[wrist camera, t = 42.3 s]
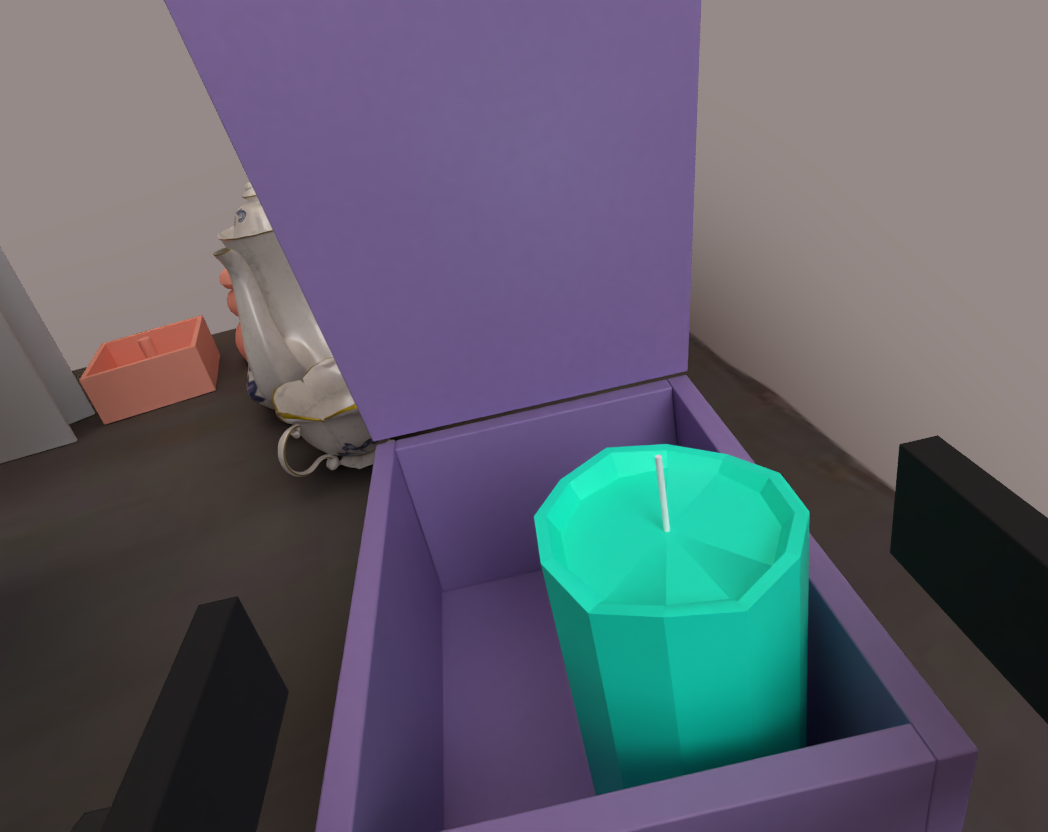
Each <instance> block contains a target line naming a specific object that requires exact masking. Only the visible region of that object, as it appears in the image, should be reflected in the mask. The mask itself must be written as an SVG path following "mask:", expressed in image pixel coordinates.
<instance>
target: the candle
mask: <svg viewBox="0 0 1048 832" xmlns="http://www.w3.org/2000/svg"><path fill="white" fill-rule="evenodd" d="M809 518H810V512H809V510H808V509H807V508H806V507H805V505H804V504H803V503H802V501H801V500H800V499H799V497H798V496H797V495H796V493H795V492H794V491H793V489H792V488H791V487H790V486H789V484H788V483H787V482H786V480H785V479H784V478H783V476H782V475H781V474H780V473H778V472H775V471H773V470H770V469H767V468H764V467H762V466H759V465H756V464H753V463H750V462H748V461H745V460H742V459H739V458H737V457H734V456H731V455H728V454H723V453H717V452H711V451H705V450H699V449H693V448H687V447H681V446H675V445H669V444H658V445H641V446H624V447H607V448H605V449H604V450H602V451H601V452H599V453H598V454H596V455H595V456H594V457H592V458H591V459H589V460H588V461H586V462H585V463H584V464H582V465H581V466H579V467H578V468H576V469H575V470H573V471H572V472H571V473H569V474H568V475H566V476H565V477H563V478H562V479H560V481H559V482H558V483H557V485H556V486H555V488H554V489H553V490H552V492H551V493H550V495H549V496H548V497H547V499H546V500H545V502H544V503H543V504H542V506H541V507H540V509H539V510H538V511H537V513H536V514H535V515H534V520H535V527H536V534H537V541H538V548H539V555H540V562H541V567H542V571H543V575H544V579H545V583H546V588H547V592H548V596H549V600H550V604H551V609H552V613H553V617H554V621H555V625H556V630H557V634H558V638H559V642H560V647H561V651H562V655H563V659H564V663H565V668H566V672H567V676H568V680H569V684H570V689H571V693H572V697H573V701H574V706H575V710H576V714H577V718H578V722H579V727H580V731H581V735H582V739H583V743H584V748H585V752H586V756H587V760H588V765H589V769H590V773H591V777H592V781H593V786H594V790H595V794H596V795H601V794H605V793H609V792H614V791H618V790H622V789H627V788H631V787H635V786H640V785H644V784H648V783H653V782H657V781H661V780H666V779H670V778H674V777H679V776H683V775H688V774H692V773H696V772H701V771H705V770H709V769H714V768H718V767H722V766H727V765H731V764H735V763H740V762H744V761H748V760H753V759H757V758H761V757H766V756H770V755H774V754H779V753H783V752H788V751H792V750H796V749H801V748H805V747H806V739H807V665H808V591H809Z"/></svg>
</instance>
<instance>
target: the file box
mask: <svg viewBox="0 0 1048 832" xmlns="http://www.w3.org/2000/svg"><path fill="white" fill-rule="evenodd" d="M658 444H669V445H675V446H681V447H687V448H693V449H699V450H705V451H711V452H717V453H723V454H728V455H731V456H734V457H737V458H739V459H742V460H745V461H748V462H750V463H753V464H755V463H754V461H753V460H752V459H751V458H750V456H749V455H748V454H747V452H746V451H745V450H744V449H743V447H742V446H741V445H740V443H739V442H738V441H737V440H736V438H735V437H734V436H733V434H732V433H731V432H730V431H729V429H728V428H727V427H726V426H725V424H724V423H723V422H722V420H721V419H720V418H719V417H718V415H717V414H716V413H715V411H714V410H713V409H712V408H711V406H710V405H709V404H708V402H707V401H706V400H705V399H704V397H703V396H702V395H701V394H700V392H699V391H698V390H697V388H696V387H695V386H694V385H693V383H692V382H691V381H690V379H689V378H688V377H687V376H686V375H683V376H679V377H674V378H670V379H667V380H662V381H658V382H653V383H649V384H644V385H640V386H635V387H631V388H627V389H622V390H618V391H613V392H609V393H604V394H600V395H596V396H591V397H587V398H582V399H578V400H573V401H569V402H565V403H560V404H556V405H551V406H547V407H542V408H538V409H533V410H529V411H525V412H520V413H516V414H511V415H507V416H502V417H498V418H494V419H489V420H485V421H480V422H476V423H471V424H467V425H463V426H458V427H454V428H449V429H445V430H440V431H436V432H432V433H427V434H423V435H418V436H414V437H409V438H405V439H401V440H397V441H396V442H395V441H392V442H387V443H383V444H378V445H377V446H376V451H375V457H374V464H373V470H372V476H371V482H370V489H369V495H368V501H367V508H366V514H365V520H364V526H363V533H362V539H361V545H360V552H359V558H358V564H357V570H356V577H355V583H354V589H353V596H352V602H351V608H350V614H349V621H348V627H347V633H346V640H345V646H344V652H343V658H342V665H341V671H340V677H339V684H338V690H337V696H336V702H335V709H334V715H333V721H332V728H331V734H330V740H329V746H328V753H327V759H326V765H325V772H324V778H323V784H322V790H321V797H320V803H319V809H318V816H317V822H316V828H315V832H962V828H963V823H964V818H965V813H966V809H967V804H968V799H969V794H970V789H971V785H972V780H973V775H974V770H975V766H976V761H977V756H978V748H977V747H976V746H975V744H974V743H973V742H972V740H971V739H970V738H969V737H968V735H967V734H966V733H965V732H964V730H963V729H962V728H961V726H960V725H959V724H958V723H957V721H956V720H955V719H954V717H953V716H952V715H951V714H950V712H949V711H948V710H947V708H946V707H945V706H944V705H943V703H942V702H941V701H940V699H939V698H938V697H937V696H936V694H935V693H934V692H933V691H932V689H931V688H930V687H929V685H928V684H927V683H926V682H925V680H924V679H923V678H922V676H921V675H920V674H919V673H918V671H917V670H916V669H915V667H914V666H913V665H912V664H911V662H910V661H909V660H908V659H907V657H906V656H905V655H904V653H903V652H902V651H901V650H900V648H899V647H898V646H897V644H896V643H895V642H894V641H893V639H892V638H891V637H890V635H889V634H888V633H887V632H886V630H885V629H884V628H883V627H882V625H881V624H880V623H879V621H878V620H877V619H876V618H875V616H874V615H873V614H872V612H871V611H870V610H869V609H868V607H867V606H866V605H865V603H864V602H863V601H862V600H861V598H860V597H859V596H858V595H857V593H856V592H855V591H854V589H853V588H852V587H851V586H850V584H849V583H848V582H847V580H846V579H845V578H844V577H843V575H842V574H841V573H840V571H839V570H838V569H837V568H836V566H835V565H834V564H833V563H832V561H831V560H830V559H829V557H828V556H827V555H826V554H825V552H824V551H823V550H822V548H821V547H820V546H819V545H818V543H817V542H816V541H815V539H814V538H813V537H812V536H811V534H810V533H809V591H808V665H807V739H806V747H805V748H801V749H796V750H792V751H788V752H783V753H779V754H774V755H770V756H766V757H761V758H757V759H753V760H748V761H744V762H740V763H735V764H731V765H727V766H722V767H718V768H714V769H709V770H705V771H701V772H696V773H692V774H688V775H683V776H679V777H674V778H670V779H666V780H661V781H657V782H653V783H648V784H644V785H640V786H635V787H631V788H627V789H622V790H618V791H614V792H609V793H605V794H601V795H596V794H595V790H594V786H593V781H592V777H591V773H590V769H589V765H588V760H587V756H586V752H585V748H584V743H583V739H582V735H581V731H580V727H579V722H578V718H577V714H576V710H575V706H574V701H573V697H572V693H571V689H570V684H569V680H568V676H567V672H566V668H565V663H564V659H563V655H562V651H561V647H560V642H559V638H558V634H557V630H556V625H555V621H554V617H553V613H552V609H551V604H550V600H549V596H548V592H547V588H546V583H545V579H544V575H543V571H542V567H541V562H540V555H539V548H538V541H537V534H536V527H535V520H534V515H535V514H536V513H537V511H538V510H539V509H540V507H541V506H542V504H543V503H544V502H545V500H546V499H547V497H548V496H549V495H550V493H551V492H552V490H553V489H554V488H555V486H556V485H557V483H558V482H559V481H560V479H562V478H563V477H565V476H566V475H568V474H569V473H571V472H572V471H573V470H575V469H576V468H578V467H579V466H581V465H582V464H584V463H585V462H586V461H588V460H589V459H591V458H592V457H594V456H595V455H596V454H598V453H599V452H601V451H602V450H604V449H605V448H607V447H624V446H641V445H658Z"/></svg>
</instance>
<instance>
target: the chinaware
mask: <svg viewBox="0 0 1048 832" xmlns="http://www.w3.org/2000/svg"><path fill="white" fill-rule="evenodd" d="M245 189H246V191H245V192H244V194H243V196H242V197H243V198H244V199H246V200H247V201H248V203H246V204H244V205H243V206H241V207H240V208H239V209H238V210H237V212H236V215H235V221H234V226H233V227H231V228H230V229H228V230H225V231H222V232H220V234H219V235H217V236H216V237H217V238H218V239H220V240H221V241H222V242H223V244H224V245H225V247H226V248H223V249H220V250H217V251H216V252H214V256H215V257H216V258H217V259H218V260H219V261H220V262H221V263H222V264H223V265H224V266H225V268H226V270H227V271H228V273H229V276H230V278H231V282H232V285H233V290H234V294H235V299H236V304H237V309H238V314H239V319H240V325H241V331H242V337H243V344H244V349H245V353H246V357H247V360H248V374H247V393H248V395H249V396H250V398H251V399H252V400H253V401H255V402H257V403H259V404H261V405H263V406H265V407H268V408H270V409H273V410H275V414H276V417H277V418H278V419H279V420H280V421H282V422H284V423H287V424H292V425H293V426H291V427H290V428H288V429H287V430H286V431H285V432H284V433H283V435H282V436H281V438H280V440H279V443H278V458H279V461H280V464H281V466H282V467H283V469H284V470H285V471H286V472H287V473H289V474H291V475H293V476H296V477H305V476H308V475H310V474H311V473H312V472H314V470H315V469H316V468H317V466H318V465H319V463H320V462H321V461H322V460H324V459H328V460H327V462H326V466H327V468H330V470H335V469H337V468H338V466H339V465H344V466H347V467H351V468H358V469H361V468H363V467H366V466H369V465H372V464H374V457H375V451H376V446H377V445H378V444H383V443H387V442H392V441H394V440H389V439H390V438H387V439H383V440H378V441H373V440H372V438H371V436H370V434H369V431H368V429H367V427H366V425H365V423H364V421H363V419H362V417H361V415H360V412H359V410H358V408H357V406H356V404H355V402H354V400H353V398H352V396H351V394H350V391H349V389H348V387H347V385H346V383H345V381H344V379H343V377H342V375H341V372H340V370H339V368H338V366H337V364H336V362H335V360H334V358H333V356H332V353H331V351H330V349H329V347H328V345H327V343H326V341H325V339H324V337H323V334H322V332H321V330H320V328H319V326H318V324H317V322H316V320H315V318H314V316H313V313H312V311H311V309H310V307H309V305H308V303H307V301H306V299H305V297H304V294H303V292H302V290H301V288H300V286H299V284H298V282H297V280H296V278H295V275H294V273H293V271H292V269H291V267H290V265H289V263H288V261H287V259H286V256H285V254H284V252H283V250H282V248H281V246H280V244H279V242H278V240H277V238H276V235H275V233H274V231H273V229H272V227H271V225H270V223H269V221H268V219H267V216H266V214H265V212H264V210H263V208H262V206H261V204H260V202H259V200H258V197H257V195H256V193H255V191H254V189H253V187H252V185H251V183H250V181H249V182H247V183H246V185H245ZM295 429H296V430H297V431H294V430H295ZM290 434H291V435H292V436H293V437H294V438H299V437H300V435H301V436H302V437H303V438H304V439H305V440H306V441H307V442H308V443H310V444H311V445H312V446H314V447H315V448H317V449H319V450H321V451H323V452H325V453H328V454H326V455H323V456H321V457H319V458H318V459H317V460H316V461H315V462H314V463H313V465H312V466H311V467H310V468H309V469H308V470H306V471H304V472H296V471H294V470H292V469H291V468H290V467H289V466H288V464H287V461H286V457H285V448H286V443H287V439H288V437H289V435H290ZM333 455H337V456H343V457H342V459H341V460H340V461H339V459H338V457H337V456H333Z"/></svg>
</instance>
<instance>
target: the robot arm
mask: <svg viewBox="0 0 1048 832" xmlns="http://www.w3.org/2000/svg"><path fill="white" fill-rule="evenodd" d="M890 553H891V554H892V555H893V556H894V557H895V558H896V560H897V561H898V562H899V563H900V564H901V565H902V566H903V567H904V568H905V569H906V570H907V572H908V573H909V574H910V575H911V576H912V577H913V578H914V579H915V580H916V581H917V582H918V583H919V585H920V586H921V587H922V588H923V589H924V590H925V591H926V592H927V593H928V594H929V595H930V597H931V598H932V599H933V600H934V601H935V602H936V603H937V604H938V605H939V606H940V607H941V608H942V610H943V611H944V612H945V613H946V614H947V615H948V616H949V617H950V618H951V619H952V620H953V622H954V623H955V624H956V625H957V626H958V627H959V628H960V629H961V630H962V631H963V632H964V633H965V635H966V636H967V637H968V638H969V639H970V640H971V641H972V642H973V643H974V644H975V645H976V647H977V648H978V649H979V650H980V651H981V652H982V653H983V654H984V655H985V656H986V657H987V658H988V660H989V661H990V662H991V663H992V664H993V665H994V666H995V667H996V668H997V669H998V670H999V672H1000V673H1001V674H1002V675H1003V676H1004V677H1005V678H1006V679H1007V680H1008V681H1009V682H1010V684H1011V685H1012V686H1013V687H1014V688H1015V689H1016V690H1017V691H1018V692H1019V693H1020V694H1021V695H1022V697H1023V698H1024V699H1025V700H1026V701H1027V702H1028V703H1029V704H1030V705H1031V706H1032V707H1033V709H1034V710H1035V711H1036V712H1037V713H1038V714H1039V715H1040V716H1041V717H1042V718H1043V719H1044V720H1045V722H1046V723H1047V724H1048V518H1047V517H1045V516H1044V515H1043V514H1042V513H1040V512H1039V511H1037V510H1036V509H1035V508H1034V507H1032V506H1031V505H1030V504H1028V503H1027V502H1026V501H1024V500H1023V499H1022V498H1020V497H1019V496H1017V495H1016V494H1015V493H1014V492H1012V491H1011V490H1010V489H1008V488H1007V487H1006V486H1004V485H1003V484H1002V483H1000V482H999V481H997V480H996V479H995V478H994V477H992V476H991V475H990V474H988V473H987V472H986V471H984V470H983V469H982V468H980V467H979V466H978V465H976V464H975V463H974V462H972V461H971V460H970V459H968V458H967V457H966V456H964V455H963V454H962V453H960V452H959V451H958V450H956V449H955V448H954V447H952V446H951V445H950V444H948V443H947V442H946V441H944V440H943V439H942V438H940V437H939V436H934V437H930V438H925V439H921V440H917V441H912V442H908V443H903V444H900V446H899V457H898V468H897V480H896V491H895V502H894V514H893V525H892V536H891V548H890ZM288 692H289V691H288V689H287V687H286V686H285V684H284V682H283V680H282V678H281V676H280V674H279V673H278V671H277V669H276V667H275V665H274V663H273V661H272V660H271V658H270V656H269V654H268V652H267V650H266V648H265V646H264V645H263V643H262V641H261V639H260V637H259V635H258V633H257V632H256V630H255V628H254V626H253V624H252V622H251V620H250V619H249V617H248V615H247V613H246V611H245V609H244V607H243V605H242V604H241V602H240V600H239V598H238V596H237V597H232V598H228V599H224V600H219V601H215V602H211V603H206V604H202V605H198V608H197V610H196V612H195V615H194V617H193V619H192V621H191V624H190V626H189V628H188V631H187V633H186V635H185V638H184V640H183V642H182V645H181V647H180V649H179V651H178V654H177V656H176V658H175V661H174V663H173V665H172V668H171V670H170V672H169V674H168V677H167V679H166V681H165V684H164V686H163V688H162V691H161V693H160V695H159V697H158V700H157V702H156V704H155V707H154V709H153V711H152V714H151V716H150V718H149V720H148V723H147V725H146V727H145V730H144V732H143V734H142V737H141V739H140V741H139V744H138V746H137V748H136V750H135V753H134V755H133V757H132V760H131V762H130V764H129V767H128V769H127V771H126V773H125V776H124V778H123V780H122V783H121V785H120V787H119V790H118V792H117V794H116V796H115V799H114V801H113V803H112V806H111V807H108V808H103V809H99V810H95V811H90V812H86V813H84V814H83V816H82V817H81V818H80V819H79V821H78V822H77V823H76V825H75V826H74V827H73V828H72V830H71V831H70V832H256V830H257V826H258V821H259V817H260V813H261V808H262V804H263V800H264V795H265V791H266V787H267V783H268V778H269V774H270V770H271V765H272V761H273V757H274V752H275V748H276V744H277V740H278V735H279V731H280V727H281V722H282V718H283V714H284V710H285V705H286V701H287V697H288Z"/></svg>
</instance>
